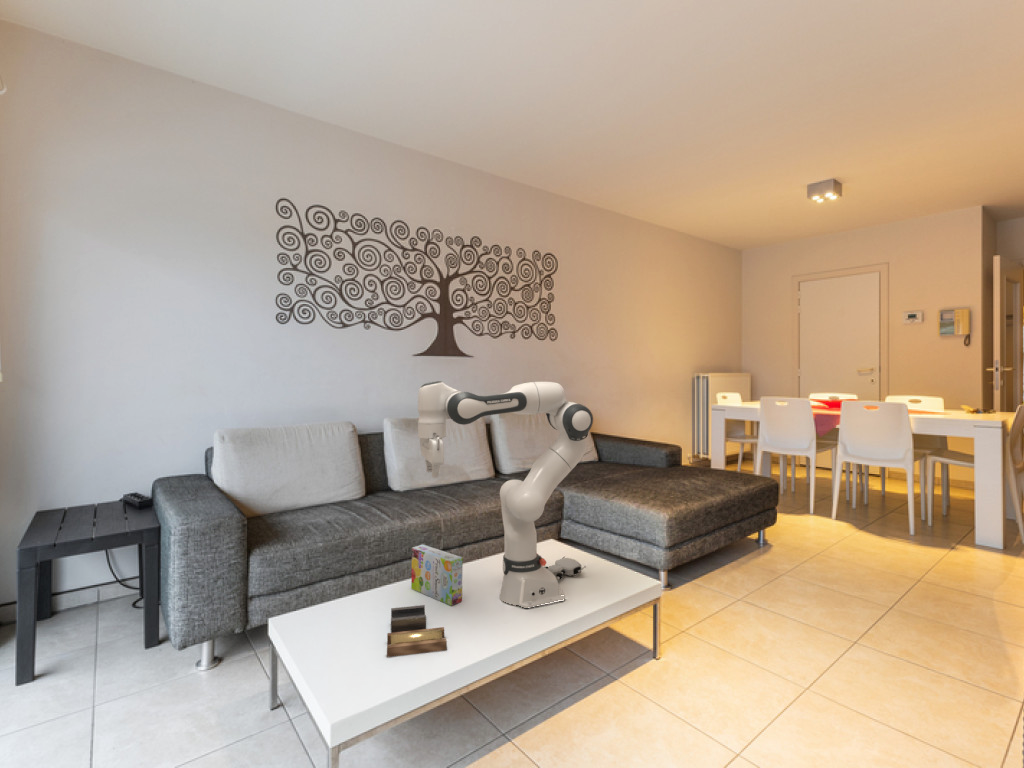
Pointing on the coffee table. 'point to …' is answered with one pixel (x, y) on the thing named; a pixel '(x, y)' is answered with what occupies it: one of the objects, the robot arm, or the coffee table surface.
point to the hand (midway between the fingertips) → (432, 474)
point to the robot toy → (565, 567)
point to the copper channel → (415, 645)
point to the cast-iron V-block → (408, 618)
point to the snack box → (437, 574)
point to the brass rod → (416, 636)
